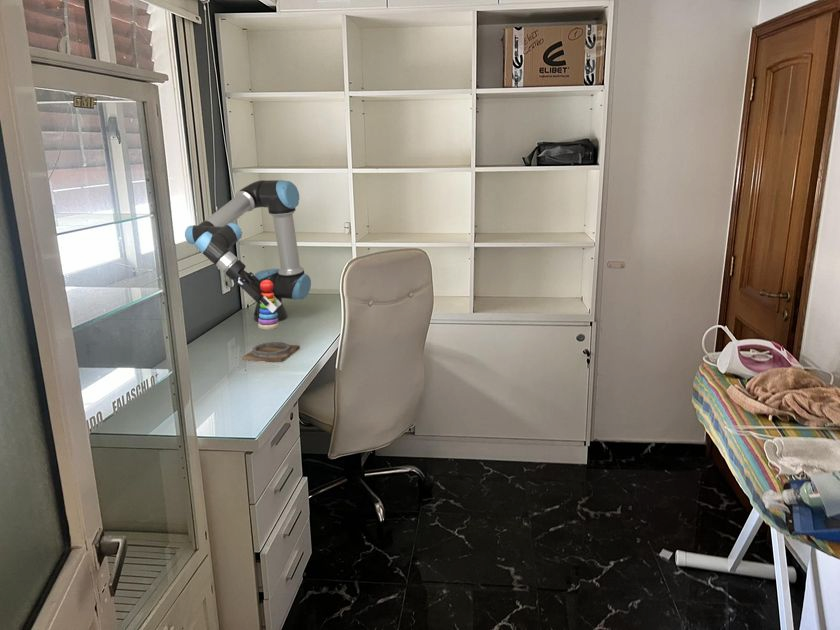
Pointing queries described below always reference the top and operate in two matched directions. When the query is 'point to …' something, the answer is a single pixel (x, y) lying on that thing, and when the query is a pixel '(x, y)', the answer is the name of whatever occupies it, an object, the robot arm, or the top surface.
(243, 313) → the top surface
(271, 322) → the stacking toy
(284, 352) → the collar board
